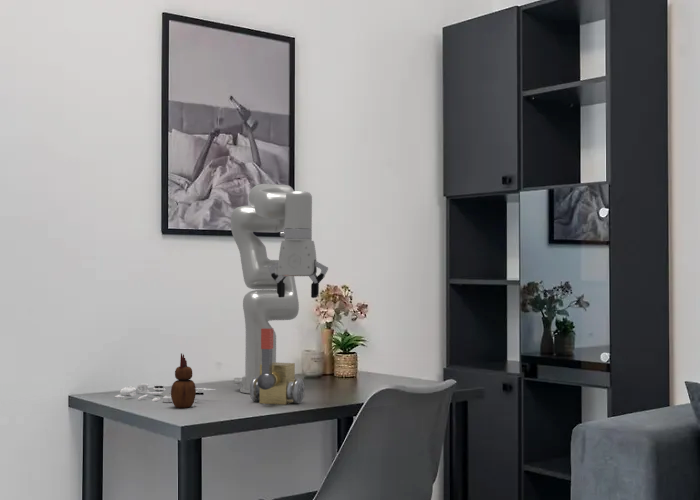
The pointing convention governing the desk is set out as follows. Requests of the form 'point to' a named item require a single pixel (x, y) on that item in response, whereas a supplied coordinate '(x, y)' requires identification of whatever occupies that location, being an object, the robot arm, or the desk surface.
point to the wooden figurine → (183, 386)
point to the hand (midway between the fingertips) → (297, 297)
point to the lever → (266, 360)
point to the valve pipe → (279, 386)
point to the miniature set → (143, 388)
